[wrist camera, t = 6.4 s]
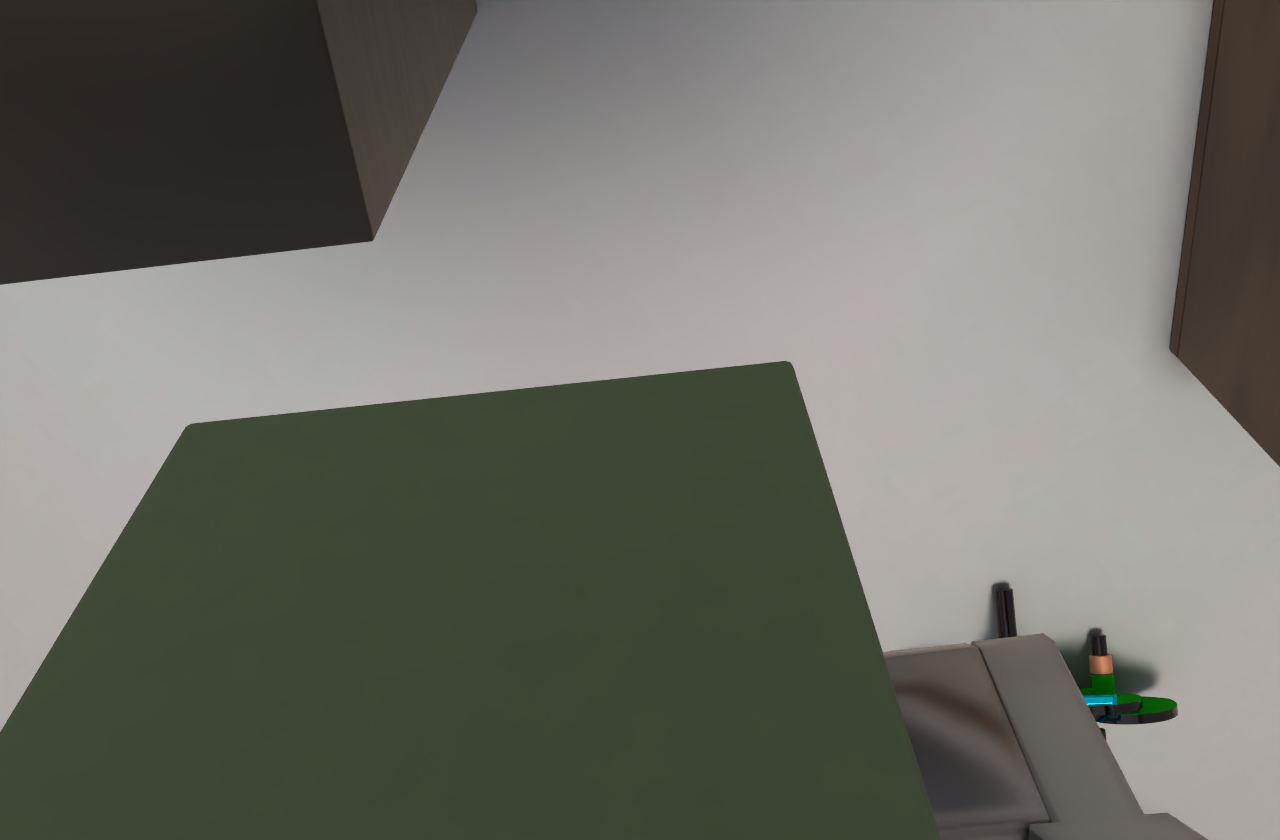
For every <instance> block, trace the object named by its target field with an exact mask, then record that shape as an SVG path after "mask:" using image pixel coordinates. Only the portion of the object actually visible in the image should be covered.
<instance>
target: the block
mask: <svg viewBox="0 0 1280 840" xmlns="http://www.w3.org/2000/svg"><path fill="white" fill-rule="evenodd" d="M0 840H941V837H940V833H939V830H938V827H937V824H936V821H935V817H934V814H933V811H932V808H931V805H930V802H929V798H928V795H927V792H926V789H925V786H924V782H923V779H922V776H921V773H920V770H919V766H918V763H917V760H916V757H915V754H914V750H913V747H912V744H911V741H910V738H909V735H908V731H907V728H906V725H905V722H904V719H903V715H902V712H901V709H900V706H899V703H898V699H897V696H896V693H895V690H894V687H893V684H892V680H891V677H890V674H889V671H888V668H887V664H886V661H885V658H884V655H883V652H882V648H881V645H880V642H879V639H878V636H877V632H876V629H875V626H874V623H873V620H872V617H871V613H870V610H869V607H868V604H867V601H866V597H865V594H864V591H863V588H862V585H861V581H860V578H859V575H858V572H857V569H856V566H855V562H854V559H853V556H852V553H851V550H850V546H849V543H848V540H847V537H846V534H845V530H844V527H843V524H842V521H841V518H840V514H839V511H838V508H837V505H836V502H835V499H834V495H833V492H832V489H831V486H830V483H829V479H828V476H827V473H826V470H825V467H824V463H823V460H822V457H821V454H820V451H819V447H818V444H817V441H816V438H815V435H814V432H813V428H812V425H811V422H810V419H809V416H808V412H807V409H806V406H805V403H804V400H803V396H802V393H801V390H800V387H799V384H798V381H797V377H796V374H795V371H794V368H793V366H792V364H791V363H790V362H787V361H781V362H771V363H762V364H753V365H743V366H734V367H724V368H715V369H705V370H696V371H686V372H677V373H667V374H658V375H648V376H639V377H629V378H620V379H610V380H601V381H591V382H582V383H573V384H563V385H554V386H544V387H535V388H525V389H516V390H506V391H497V392H487V393H478V394H468V395H459V396H449V397H440V398H430V399H421V400H412V401H402V402H393V403H383V404H374V405H364V406H355V407H345V408H336V409H326V410H317V411H307V412H298V413H288V414H279V415H269V416H260V417H250V418H241V419H232V420H222V421H213V422H203V423H194V424H190V425H188V426H186V427H185V429H184V431H183V432H182V434H181V436H180V437H179V439H178V441H177V442H176V444H175V446H174V447H173V449H172V450H171V452H170V454H169V455H168V457H167V459H166V460H165V462H164V464H163V465H162V467H161V469H160V470H159V472H158V474H157V475H156V477H155V478H154V480H153V482H152V483H151V485H150V487H149V488H148V490H147V492H146V493H145V495H144V497H143V498H142V500H141V502H140V503H139V505H138V506H137V508H136V510H135V511H134V513H133V515H132V516H131V518H130V520H129V521H128V523H127V525H126V526H125V528H124V529H123V531H122V533H121V534H120V536H119V538H118V539H117V541H116V543H115V544H114V546H113V548H112V549H111V551H110V553H109V554H108V556H107V557H106V559H105V561H104V562H103V564H102V566H101V567H100V569H99V571H98V572H97V574H96V576H95V577H94V579H93V580H92V582H91V584H90V585H89V587H88V589H87V590H86V592H85V594H84V595H83V597H82V599H81V600H80V602H79V604H78V605H77V607H76V608H75V610H74V612H73V613H72V615H71V617H70V618H69V620H68V622H67V623H66V625H65V627H64V628H63V630H62V632H61V633H60V635H59V636H58V638H57V640H56V641H55V643H54V645H53V646H52V648H51V650H50V651H49V653H48V655H47V656H46V658H45V659H44V661H43V663H42V664H41V666H40V668H39V669H38V671H37V673H36V674H35V676H34V678H33V679H32V681H31V683H30V684H29V686H28V687H27V689H26V691H25V692H24V694H23V696H22V697H21V699H20V701H19V702H18V704H17V706H16V707H15V709H14V710H13V712H12V714H11V715H10V717H9V719H8V720H7V722H6V724H5V725H4V727H3V729H2V730H1V732H0Z"/></svg>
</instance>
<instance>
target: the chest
mask: <svg viewBox="0 0 1280 840" xmlns="http://www.w3.org/2000/svg"><path fill="white" fill-rule="evenodd" d="M1170 351H1171V352H1172V353H1173V354H1174V355H1175V356H1176V357H1178V358H1179V360H1180V361H1181V362H1182V363H1183V364H1184V365H1185V366H1186V367H1187V368H1188V369H1189V370H1190V371H1191V373H1192V374H1193V375H1194V376H1195V377H1196V378H1197V379H1198V380H1199V381H1200V382H1201V383H1202V384H1203V385H1204V386H1205V387H1206V389H1207V390H1208V391H1209V392H1210V393H1211V394H1212V395H1213V396H1214V397H1215V398H1216V399H1217V400H1218V401H1219V402H1220V404H1221V405H1222V406H1223V407H1224V408H1225V409H1226V410H1227V411H1228V412H1229V413H1230V414H1231V415H1232V416H1233V417H1234V419H1235V420H1236V421H1237V422H1238V423H1239V424H1240V425H1241V426H1242V427H1243V428H1244V429H1245V430H1246V431H1247V432H1248V434H1249V435H1250V436H1251V437H1252V438H1253V439H1254V440H1255V441H1256V442H1257V443H1258V444H1259V445H1260V446H1261V447H1262V448H1263V450H1264V451H1265V452H1266V453H1267V454H1268V455H1269V456H1270V457H1271V458H1272V459H1273V460H1274V461H1275V462H1276V463H1277V465H1278V466H1279V467H1280V0H1214V7H1213V15H1212V22H1211V30H1210V38H1209V46H1208V54H1207V62H1206V69H1205V77H1204V85H1203V93H1202V101H1201V108H1200V116H1199V124H1198V132H1197V140H1196V148H1195V155H1194V163H1193V171H1192V179H1191V187H1190V195H1189V202H1188V210H1187V218H1186V226H1185V234H1184V242H1183V249H1182V257H1181V265H1180V273H1179V281H1178V288H1177V296H1176V304H1175V312H1174V320H1173V328H1172V335H1171V343H1170Z"/></svg>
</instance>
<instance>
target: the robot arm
mask: <svg viewBox="0 0 1280 840" xmlns="http://www.w3.org/2000/svg"><path fill="white" fill-rule="evenodd" d="M883 655H884V658H885V661H886V664H887V668H888V671H889V674H890V677H891V680H892V684H893V687H894V690H895V693H896V696H897V699H898V703H899V706H900V709H901V712H902V715H903V719H904V722H905V725H906V728H907V731H908V735H909V738H910V741H911V744H912V747H913V750H914V754H915V757H916V760H917V763H918V766H919V770H920V773H921V776H922V779H923V782H924V786H925V789H926V792H927V795H928V798H929V802H930V805H931V808H932V811H933V814H934V817H935V821H936V824H937V827H938V830H939V833H940V837H941V840H1208V839H1206V838H1205V837H1203V836H1202V835H1200V834H1199V833H1197V832H1196V831H1194V830H1193V829H1191V828H1190V827H1188V826H1187V825H1185V824H1184V823H1182V822H1181V821H1179V820H1178V819H1176V818H1175V817H1173V816H1172V815H1170V814H1169V813H1157V814H1144V813H1143V812H1142V810H1141V808H1140V806H1139V804H1138V802H1137V800H1136V798H1135V796H1134V794H1133V792H1132V790H1131V788H1130V786H1129V784H1128V783H1127V781H1126V779H1125V777H1124V775H1123V773H1122V771H1121V769H1120V767H1119V765H1118V763H1117V761H1116V759H1115V757H1114V756H1113V754H1112V752H1111V750H1110V748H1109V746H1108V744H1107V742H1106V740H1105V738H1104V736H1103V734H1102V732H1101V730H1100V728H1099V727H1098V725H1097V723H1096V721H1095V719H1094V717H1093V715H1092V713H1091V711H1090V709H1089V707H1088V705H1087V703H1086V701H1085V700H1084V698H1083V696H1082V694H1081V692H1080V690H1079V688H1078V686H1077V684H1076V682H1075V680H1074V678H1073V676H1072V674H1071V672H1070V671H1069V669H1068V667H1067V665H1066V663H1065V661H1064V659H1063V657H1062V655H1061V653H1060V651H1059V649H1058V647H1057V645H1056V644H1055V642H1054V641H1053V640H1051V639H1050V638H1049V637H1047V636H1046V635H1045V634H1043V633H1042V634H1033V635H1025V636H1016V637H1007V638H999V639H990V640H981V641H973V642H972V643H971V645H970V644H967V643H964V644H954V645H945V646H935V647H926V648H916V649H907V650H897V651H888V652H883Z"/></svg>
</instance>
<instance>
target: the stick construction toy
mask: <svg viewBox="0 0 1280 840" xmlns="http://www.w3.org/2000/svg"><path fill="white" fill-rule="evenodd" d="M994 598H995V609H996V620H997V631H998V639H999V638H1007V637H1016V636H1017V630H1016V619H1015V608H1014V598H1013V589H1011V588H1002V589H995V590H994ZM1091 645H1092V654H1090V655H1089V664H1090V673H1091V684H1092V688H1079V690H1080V692H1081V694H1082V696H1083V698H1084V700H1085V701H1086V703H1087V705H1088V707H1089V709H1090V711H1091V713H1092V715H1093V717H1094V719H1095V721H1096V722H1100V723H1108V724H1145V723H1154V722H1161V721H1166V720H1169V719H1172V718H1174V717H1176V716H1177V715H1178V709H1177V703H1176V702H1175V701H1173V700H1171V699H1167V698H1157V697H1142V696H1140V695H1136V694H1130V693H1117V691H1116V690H1115V686H1114V676H1113V665H1112V655H1111V654H1108V653H1107V643H1106V635H1104V634H1094V635H1091ZM1100 730H1101V732H1102V734H1103V736H1104V738H1105V740H1106V733H1105V729H1104V728H1100Z"/></svg>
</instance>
